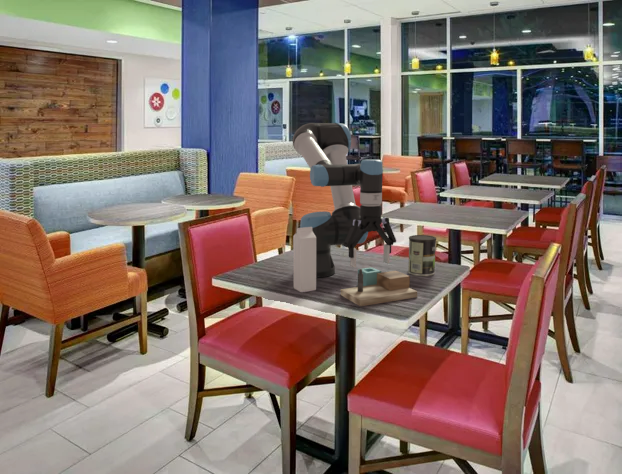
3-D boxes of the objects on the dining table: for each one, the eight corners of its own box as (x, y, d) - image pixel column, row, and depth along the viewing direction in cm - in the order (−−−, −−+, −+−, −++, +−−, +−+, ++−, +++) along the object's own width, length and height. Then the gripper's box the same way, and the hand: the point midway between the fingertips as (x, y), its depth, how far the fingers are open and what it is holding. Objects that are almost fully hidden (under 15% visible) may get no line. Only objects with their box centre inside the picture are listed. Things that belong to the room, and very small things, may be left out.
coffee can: (434, 270, 216) (436, 235, 213) (434, 277, 206) (436, 240, 203) (408, 268, 218) (409, 234, 215) (407, 275, 208) (408, 239, 205)
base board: (340, 295, 184) (340, 267, 182) (395, 286, 194) (395, 260, 192) (360, 306, 173) (360, 277, 171) (417, 297, 182) (418, 269, 180)
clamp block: (376, 284, 189) (377, 273, 188) (396, 281, 193) (396, 270, 192) (389, 290, 182) (390, 279, 181) (409, 287, 186) (409, 276, 185)
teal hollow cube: (357, 285, 195) (357, 269, 194) (371, 283, 198) (372, 267, 197) (366, 289, 190) (366, 273, 189) (380, 287, 193) (381, 271, 192)
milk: (293, 288, 192) (292, 226, 188) (308, 285, 195) (308, 225, 191) (301, 292, 187) (300, 229, 183) (316, 290, 190) (316, 227, 185)
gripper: (344, 208, 179) (344, 270, 183) (407, 203, 190) (405, 263, 194) (333, 205, 186) (333, 266, 190) (394, 201, 197) (393, 258, 201)
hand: (370, 264), depth 192 cm, fingers open, 13 cm apart
